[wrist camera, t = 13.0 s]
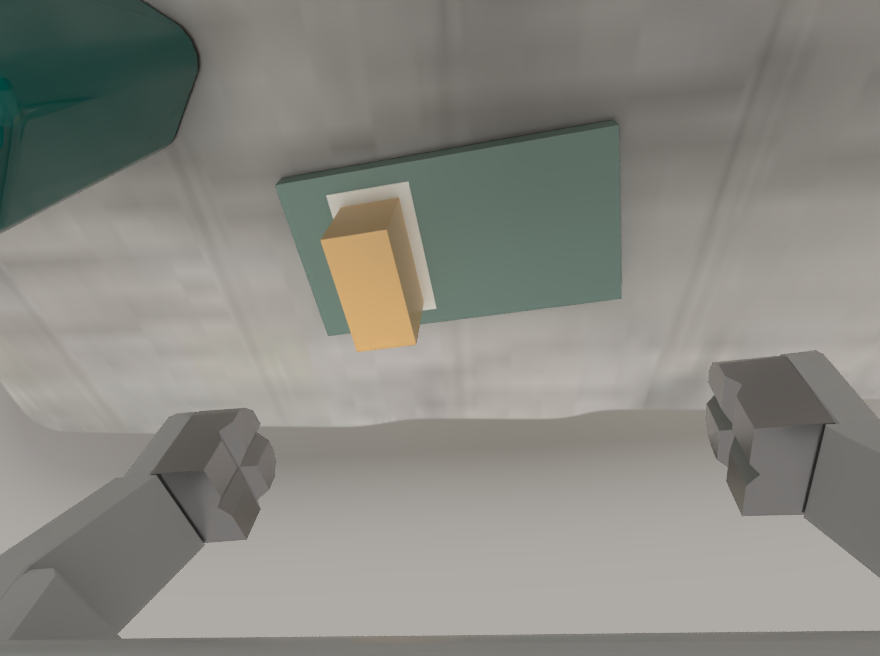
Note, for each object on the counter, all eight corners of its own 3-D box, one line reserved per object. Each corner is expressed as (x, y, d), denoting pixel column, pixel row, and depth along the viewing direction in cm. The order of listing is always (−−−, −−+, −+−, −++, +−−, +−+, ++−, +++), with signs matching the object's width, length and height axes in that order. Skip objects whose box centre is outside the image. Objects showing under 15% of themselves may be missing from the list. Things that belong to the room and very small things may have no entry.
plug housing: (399, 197, 35) (386, 229, 31) (423, 302, 40) (416, 344, 35) (341, 207, 36) (320, 240, 31) (371, 309, 40) (357, 351, 36)
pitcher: (42, 86, 35) (-460, 203, 16) (70, -49, 31) (-558, -99, 12) (187, 171, 37) (-105, 357, 19) (231, 56, 33) (-88, 148, 15)
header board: (613, 119, 34) (631, 137, 30) (616, 288, 40) (631, 321, 36) (281, 178, 37) (258, 201, 33) (332, 325, 43) (318, 359, 39)
